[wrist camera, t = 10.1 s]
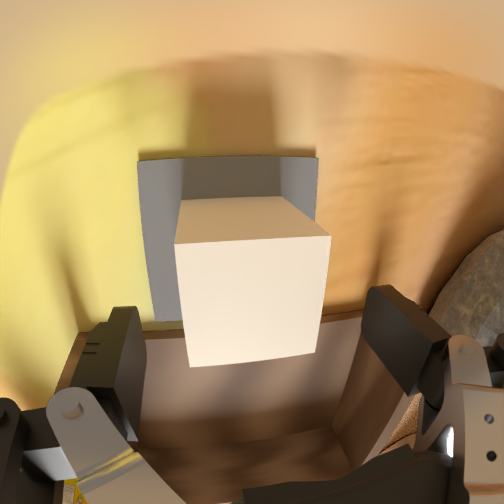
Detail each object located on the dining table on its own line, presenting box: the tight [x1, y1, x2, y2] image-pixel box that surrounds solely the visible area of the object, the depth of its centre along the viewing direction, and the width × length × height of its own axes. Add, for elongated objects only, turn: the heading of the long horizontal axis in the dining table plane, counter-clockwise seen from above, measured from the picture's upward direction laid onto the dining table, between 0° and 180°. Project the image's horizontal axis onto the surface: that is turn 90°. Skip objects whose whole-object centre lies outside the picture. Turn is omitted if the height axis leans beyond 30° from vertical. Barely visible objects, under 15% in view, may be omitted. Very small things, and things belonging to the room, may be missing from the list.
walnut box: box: [54, 310, 415, 504], centre depth 18 cm, size 20×14×7 cm
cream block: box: [174, 196, 332, 367], centre depth 13 cm, size 5×5×6 cm
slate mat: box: [137, 156, 319, 322], centre depth 16 cm, size 9×9×1 cm
